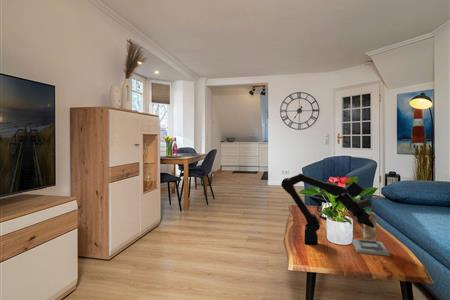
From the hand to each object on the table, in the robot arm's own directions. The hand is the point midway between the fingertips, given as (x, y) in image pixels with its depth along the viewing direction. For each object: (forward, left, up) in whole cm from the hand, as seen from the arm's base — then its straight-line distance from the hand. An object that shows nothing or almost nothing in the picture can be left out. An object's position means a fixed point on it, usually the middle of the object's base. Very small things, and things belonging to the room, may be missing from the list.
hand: (372, 225), depth 129 cm
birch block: (-2, 0, -7) cm, 7 cm away
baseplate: (-1, 0, -12) cm, 12 cm away
